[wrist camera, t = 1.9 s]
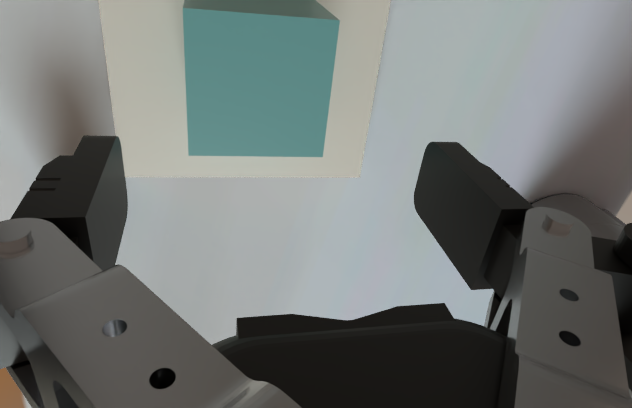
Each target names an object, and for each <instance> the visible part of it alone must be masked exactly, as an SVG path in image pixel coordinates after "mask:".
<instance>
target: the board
mask: <svg viewBox="0 0 632 408" xmlns="http://www.w3.org/2000/svg"><path fill="white" fill-rule="evenodd" d="M184 1H185V0H98V2H99V10H100V18H101V25H102V33H103V41H104V49H105V57H106V65H107V72H108V80H109V88H110V96H111V104H112V112H113V119H114V127H115V135H116V136H118V137H119V139H120V143H121V149H122V157H123V165H124V173H125V177H360V173H361V167H362V162H363V156H364V150H365V145H366V139H367V133H368V127H369V122H370V116H371V110H372V105H373V99H374V93H375V88H376V82H377V76H378V71H379V65H380V59H381V54H382V48H383V42H384V37H385V31H386V25H387V20H388V14H389V8H390V2H391V0H316V1H317V2H318V3H319V4H321V5H322V6H323V7H324V8H326V9H327V10H328V11H329V12H330V13H332V14H333V15H334V16H335V17H337V18H338V19H339V20H340V24H339V32H338V40H337V48H336V56H335V64H334V72H333V80H332V88H331V96H330V104H329V112H328V120H327V127H326V135H325V143H324V151H323V157H262V156H189V155H188V130H187V105H186V81H185V56H184V31H183V4H184Z"/></svg>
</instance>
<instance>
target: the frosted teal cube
mask: <svg viewBox="0 0 632 408" xmlns="http://www.w3.org/2000/svg"><path fill="white" fill-rule="evenodd" d="M339 24H340V20H339V19H338V18H337V17H335V16H334V15H333V14H332V13H330V12H329V11H328V10H327V9H326V8H324V7H323V6H322V5H321V4H319V3H318V2H317V1H316V0H185V1H184V4H183V31H184V56H185V81H186V105H187V130H188V155H189V156H262V157H323V151H324V143H325V135H326V127H327V120H328V112H329V104H330V96H331V88H332V80H333V72H334V64H335V56H336V48H337V40H338V32H339Z"/></svg>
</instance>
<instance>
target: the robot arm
mask: <svg viewBox="0 0 632 408" xmlns="http://www.w3.org/2000/svg"><path fill="white" fill-rule="evenodd" d="M29 189H30V191H28V192H27V193H26V195H25V196H24V198H23V200H22V201H21V203H20V204H19V206H18V208H17V209H16V211H15V212H14V214H13V216H12V217H11V219H10V220H5V221H1V222H0V369H1V368H5V367H6V369H7V370H8V372H9V374H10V375H11V377H12V378H13V380H14V381H15V383H16V384H17V386H18V387H19V389H20V390H21V392H22V393H23V395H24V396H25V398H26V399H27V401H28V402H29V404H30V405H31V407H32V408H632V223H629V224H627V225H626V224H625V223H623V222H622V221H621V220H619V219H618V218H617V217H615V216H614V215H613V214H611V213H610V212H609V211H607V210H601V209H599V208H598V207H597V206H595V205H594V204H593V203H591V202H590V201H588V200H587V199H585V198H583V197H581V196H577V195H573V194H561V195H555V196H550V197H547V198H545V199H542V200H539V201H537V202H535V203H533V204H530V203H529V202H527V201H526V200H525V199H524V198H523V197H522V196H521V195H520V194H519V193H518V192H516V191H515V190H514V189H513V188H510V185H509V184H508V183H506V182H505V181H504V180H503V179H501V177H500V176H499V175H498V174H496V173H495V172H494V171H493V170H492V169H491V168H490V167H488V166H486V165H484V164H482V163H480V162H479V161H478V160H477V159H476V158H475V157H474V156H472V155H471V154H470V153H469V152H468V151H467V150H466V149H465V148H464V147H463V146H462V145H460V144H459V143H457V142H430V143H429V144H428V145H427V147H426V149H425V152H424V156H423V160H422V164H421V168H420V172H419V176H418V180H417V184H416V188H415V192H414V205H415V209H416V211H417V213H418V215H419V216H420V218H421V219H422V220H423V222H424V223H425V225H426V226H427V228H428V229H429V230H430V232H431V233H432V235H433V236H434V238H435V239H436V240H437V242H438V243H439V245H440V246H441V247H442V249H443V250H444V252H445V253H446V255H447V256H448V257H449V259H450V260H451V262H452V263H453V265H454V266H455V267H456V269H457V270H458V272H459V273H460V275H461V276H462V277H463V279H464V280H465V282H466V283H467V285H468V286H469V287H470V289H471V290H477V289H492V288H493V289H494V292H493V294H492V297H491V299H490V302H489V306H488V310H487V315H486V320H485V324H484V326H481V325H478V324H475V323H472V322H468V321H463V320H459V319H454V318H453V316H452V315H451V313H450V312H449V310H448V308H447V307H446V305H445V303H439V304H425V305H411V306H397V307H394V308H391V309H388V310H384V311H381V312H378V313H375V314H371V315H368V316H365V317H362V318H358V319H355V320H348V321H347V320H337V319H329V318H320V317H312V316H304V315H296V314H286V315H272V316H258V317H244V318H237V332H236V336H233V337H230V338H227V339H224V340H222V341H220V342H217V343H215V344H213V345H211V344H210V343H209V342H208V341H206V340H205V339H204V338H203V337H202V336H201V335H200V334H199V333H198V332H197V331H195V330H194V329H193V328H192V327H191V326H190V325H189V324H188V323H187V322H185V321H184V320H183V319H182V318H181V317H180V316H179V315H178V314H177V313H175V312H174V311H173V310H172V309H171V308H170V307H169V306H168V305H167V304H166V303H164V302H163V301H162V300H161V299H160V298H159V297H158V296H157V295H156V294H154V293H153V292H152V291H151V290H150V289H149V288H148V287H147V286H146V285H144V284H143V283H142V282H141V281H140V280H139V279H138V278H137V277H136V276H135V275H133V274H132V273H131V272H130V271H129V270H128V269H127V268H125V267H124V266H122V265H115V263H116V259H117V255H118V251H119V247H120V242H121V238H122V234H123V230H124V226H125V222H126V218H127V207H128V202H127V189H126V181H125V173H124V165H123V157H122V149H121V143H120V139H119V137H118V136H83V138H82V140H81V142H80V143H79V145H78V147H77V149H76V151H75V153H74V155H73V156H59V157H57V158H55V159H54V160H52V161H51V162H49V163H48V164H46V165H44V166H43V167H42V169H41V171H40V172H39V174H38V175H37V177H36V181H34V182H33V183H32V185H31V187H30V188H29Z"/></svg>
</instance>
